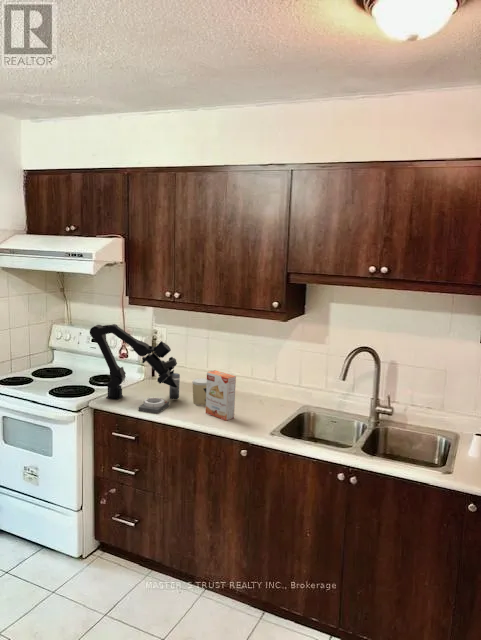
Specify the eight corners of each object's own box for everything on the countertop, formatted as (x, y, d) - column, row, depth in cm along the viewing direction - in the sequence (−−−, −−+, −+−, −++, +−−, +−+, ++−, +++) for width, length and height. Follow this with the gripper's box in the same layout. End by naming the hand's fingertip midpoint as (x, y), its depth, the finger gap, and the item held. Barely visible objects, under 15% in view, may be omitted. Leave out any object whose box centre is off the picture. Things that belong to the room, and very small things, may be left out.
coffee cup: (207, 407, 260) (208, 383, 258) (189, 405, 262) (190, 382, 260) (211, 401, 269) (212, 379, 267) (194, 399, 271) (195, 377, 269)
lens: (167, 398, 265) (168, 374, 263) (171, 395, 270) (172, 372, 268) (176, 400, 264) (177, 376, 262) (180, 397, 269) (181, 373, 267)
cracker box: (204, 413, 250) (206, 371, 247) (213, 410, 255) (215, 369, 251) (225, 421, 241) (227, 377, 238) (234, 418, 246) (236, 375, 242)
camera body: (138, 411, 250) (138, 403, 249) (150, 403, 262) (150, 395, 261) (157, 413, 247) (157, 405, 246) (168, 405, 259) (169, 398, 258)
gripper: (164, 357, 254) (186, 380, 256) (170, 349, 273) (190, 370, 274) (148, 372, 256) (169, 395, 257) (155, 363, 274) (175, 384, 276)
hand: (177, 385), depth 266 cm, fingers closed on lens, 5 cm apart
